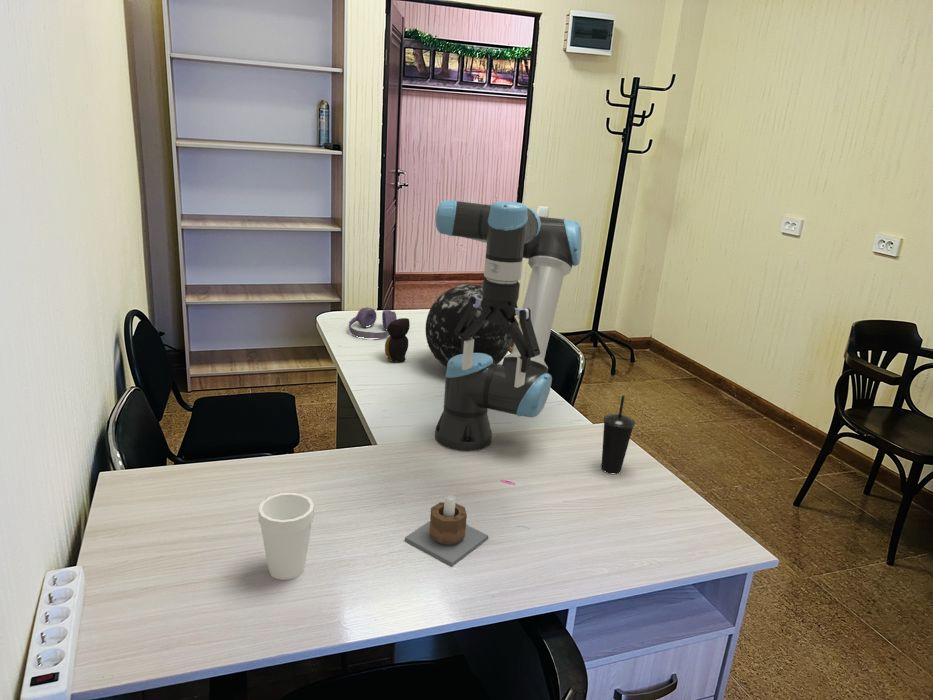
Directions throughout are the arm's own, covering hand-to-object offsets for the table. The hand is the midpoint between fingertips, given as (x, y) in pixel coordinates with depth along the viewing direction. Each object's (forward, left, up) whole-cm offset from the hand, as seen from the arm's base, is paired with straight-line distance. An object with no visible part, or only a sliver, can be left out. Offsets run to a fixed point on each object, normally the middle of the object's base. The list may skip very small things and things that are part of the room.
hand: (492, 377), depth 142 cm
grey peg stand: (+5, -19, -29) cm, 35 cm away
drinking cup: (+17, +33, -29) cm, 47 cm away
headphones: (-101, +69, -29) cm, 126 cm away
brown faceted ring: (+5, -19, -27) cm, 34 cm away
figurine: (-73, +52, -29) cm, 94 cm away
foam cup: (-11, -46, -29) cm, 55 cm away
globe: (-50, +62, -29) cm, 85 cm away
